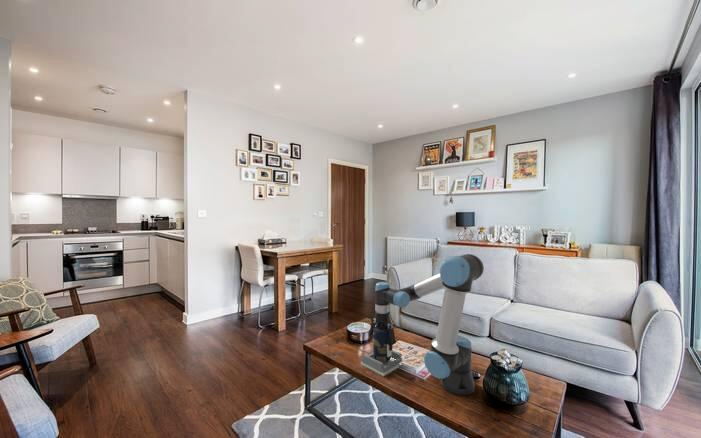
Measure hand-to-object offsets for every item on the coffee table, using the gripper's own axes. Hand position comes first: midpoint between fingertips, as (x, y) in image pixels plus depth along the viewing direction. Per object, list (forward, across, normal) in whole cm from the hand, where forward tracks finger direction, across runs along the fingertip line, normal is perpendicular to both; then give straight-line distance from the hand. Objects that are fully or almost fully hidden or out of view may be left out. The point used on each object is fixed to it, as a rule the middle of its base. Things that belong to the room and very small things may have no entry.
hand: (381, 352), depth 157 cm
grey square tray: (+7, 0, 0) cm, 7 cm away
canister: (+4, 0, 0) cm, 4 cm away
